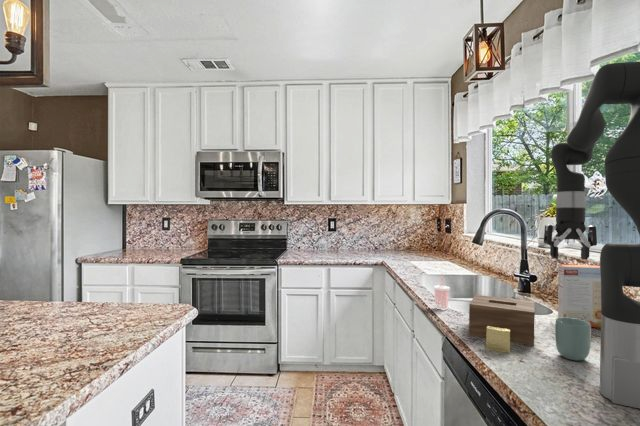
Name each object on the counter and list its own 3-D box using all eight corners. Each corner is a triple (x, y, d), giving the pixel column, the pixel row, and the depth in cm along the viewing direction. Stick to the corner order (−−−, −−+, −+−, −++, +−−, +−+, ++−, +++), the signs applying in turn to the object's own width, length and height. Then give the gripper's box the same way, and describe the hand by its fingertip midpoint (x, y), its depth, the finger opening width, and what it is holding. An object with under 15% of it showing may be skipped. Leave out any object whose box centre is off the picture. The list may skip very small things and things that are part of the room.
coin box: (534, 346, 109) (534, 312, 109) (468, 335, 118) (469, 303, 118) (533, 331, 122) (534, 301, 122) (475, 322, 131) (475, 294, 131)
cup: (574, 365, 96) (575, 326, 96) (548, 353, 103) (549, 318, 103) (597, 362, 98) (598, 324, 98) (570, 351, 105) (570, 316, 105)
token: (509, 353, 103) (509, 332, 103) (486, 349, 106) (486, 328, 106) (510, 350, 105) (510, 329, 105) (487, 346, 108) (487, 325, 108)
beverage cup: (441, 312, 144) (442, 276, 144) (430, 308, 149) (430, 273, 149) (452, 310, 147) (453, 275, 147) (441, 306, 152) (441, 272, 152)
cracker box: (601, 324, 131) (602, 265, 130) (610, 329, 125) (611, 267, 125) (556, 320, 134) (557, 263, 134) (563, 325, 128) (564, 265, 128)
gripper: (552, 206, 111) (551, 259, 111) (603, 206, 109) (602, 261, 109) (540, 206, 118) (539, 257, 118) (587, 207, 117) (586, 258, 117)
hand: (569, 259), depth 114 cm, fingers open, 8 cm apart
